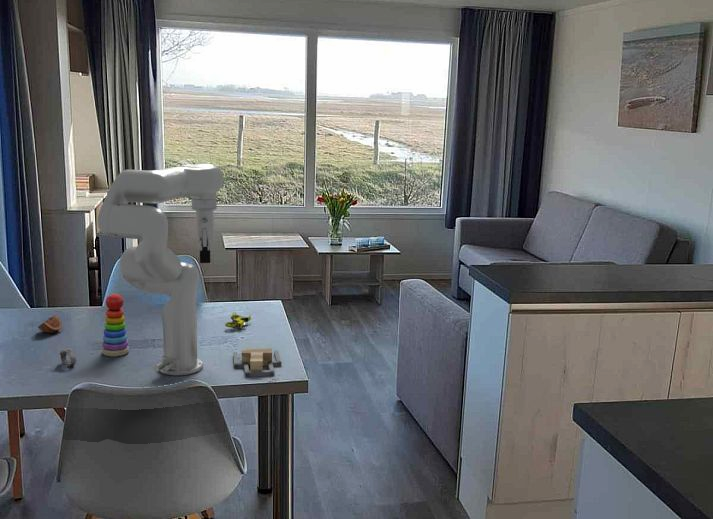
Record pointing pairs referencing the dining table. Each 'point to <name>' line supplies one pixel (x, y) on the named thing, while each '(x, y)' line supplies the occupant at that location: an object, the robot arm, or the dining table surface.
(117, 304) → the stacking toy
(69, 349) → the wristwatch
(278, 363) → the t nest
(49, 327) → the fruit slice
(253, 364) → the oak t block
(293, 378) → the dining table surface
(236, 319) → the toy motorcycle
